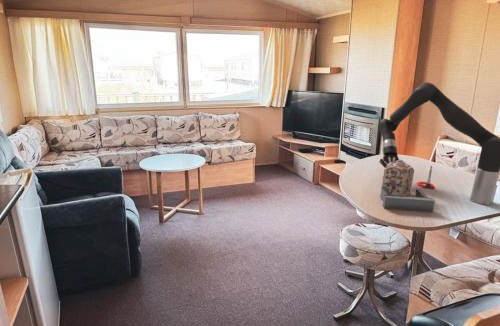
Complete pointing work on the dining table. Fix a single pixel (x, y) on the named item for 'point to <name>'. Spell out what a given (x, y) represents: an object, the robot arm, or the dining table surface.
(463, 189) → the dining table surface
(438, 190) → the dining table surface
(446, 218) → the dining table surface
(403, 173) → the decorative jar
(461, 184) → the dining table surface
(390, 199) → the grey tray
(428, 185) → the tow hook
